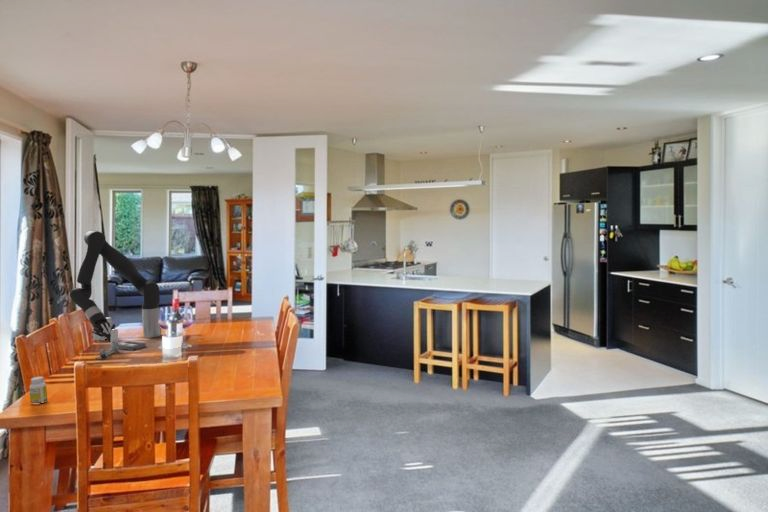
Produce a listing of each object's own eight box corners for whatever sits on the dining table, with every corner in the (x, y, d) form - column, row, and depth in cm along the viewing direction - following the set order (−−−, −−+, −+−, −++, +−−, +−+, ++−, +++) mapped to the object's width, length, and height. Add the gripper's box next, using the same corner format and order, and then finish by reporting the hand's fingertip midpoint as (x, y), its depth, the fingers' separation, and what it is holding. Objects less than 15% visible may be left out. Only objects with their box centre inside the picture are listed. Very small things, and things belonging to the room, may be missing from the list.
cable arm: (105, 357, 259) (103, 335, 258) (98, 357, 259) (96, 335, 258) (120, 350, 274) (118, 329, 273) (113, 350, 274) (112, 329, 273)
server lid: (128, 344, 288) (128, 340, 288) (146, 346, 283) (145, 342, 282) (114, 348, 280) (113, 344, 280) (131, 350, 274) (131, 346, 274)
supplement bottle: (43, 399, 199) (42, 375, 199) (50, 402, 196) (48, 377, 195) (28, 403, 195) (26, 378, 194) (34, 406, 192) (32, 381, 191)
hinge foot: (104, 355, 264) (104, 355, 264) (112, 357, 262) (112, 356, 262) (93, 358, 259) (93, 358, 259) (101, 360, 256) (101, 359, 256)
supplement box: (103, 340, 299) (102, 319, 298) (93, 340, 301) (91, 319, 300) (113, 338, 306) (111, 317, 306) (102, 337, 308) (101, 317, 307)
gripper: (86, 314, 270) (103, 338, 266) (109, 310, 282) (126, 333, 278) (81, 323, 273) (97, 348, 268) (103, 318, 285) (120, 342, 280)
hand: (112, 340), depth 273 cm, fingers closed
